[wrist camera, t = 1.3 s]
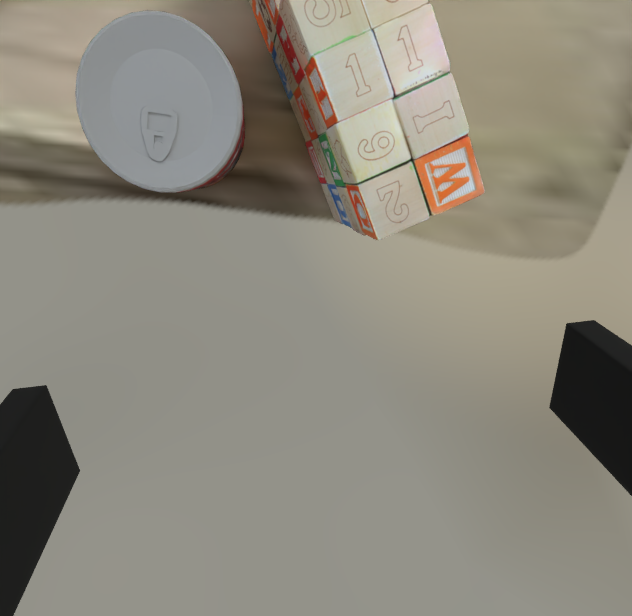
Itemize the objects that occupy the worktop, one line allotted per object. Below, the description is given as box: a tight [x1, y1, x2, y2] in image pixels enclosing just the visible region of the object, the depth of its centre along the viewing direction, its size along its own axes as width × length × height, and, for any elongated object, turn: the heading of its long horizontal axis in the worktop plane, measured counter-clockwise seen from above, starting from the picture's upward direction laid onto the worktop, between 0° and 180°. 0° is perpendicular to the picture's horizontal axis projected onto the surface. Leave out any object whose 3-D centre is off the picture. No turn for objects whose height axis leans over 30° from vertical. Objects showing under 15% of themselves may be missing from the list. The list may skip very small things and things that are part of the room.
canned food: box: [75, 10, 245, 193], centre depth 26 cm, size 8×8×11 cm
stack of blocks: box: [249, 0, 485, 240], centre depth 26 cm, size 21×6×12 cm, turn 23°
